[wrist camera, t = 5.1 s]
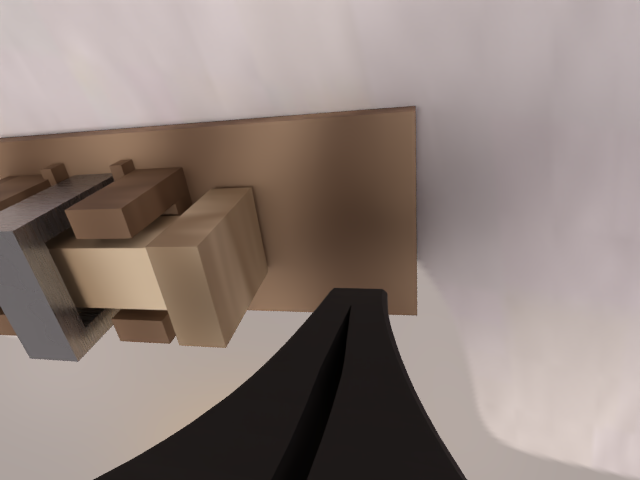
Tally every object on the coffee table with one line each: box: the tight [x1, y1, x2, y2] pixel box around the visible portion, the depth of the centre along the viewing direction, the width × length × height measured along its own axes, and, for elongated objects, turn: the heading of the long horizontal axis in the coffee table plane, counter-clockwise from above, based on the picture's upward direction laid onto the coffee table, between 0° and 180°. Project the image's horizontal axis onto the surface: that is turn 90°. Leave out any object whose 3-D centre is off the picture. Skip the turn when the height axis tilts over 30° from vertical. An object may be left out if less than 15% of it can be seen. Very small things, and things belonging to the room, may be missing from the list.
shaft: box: [45, 187, 268, 348], centre depth 15 cm, size 9×4×4 cm, turn 97°
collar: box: [0, 173, 121, 362], centre depth 16 cm, size 2×5×5 cm, turn 7°
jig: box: [0, 106, 417, 344], centre depth 16 cm, size 17×8×5 cm, turn 97°
